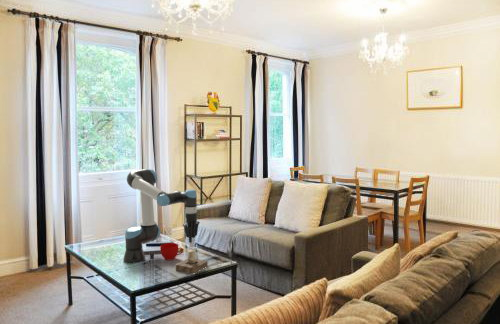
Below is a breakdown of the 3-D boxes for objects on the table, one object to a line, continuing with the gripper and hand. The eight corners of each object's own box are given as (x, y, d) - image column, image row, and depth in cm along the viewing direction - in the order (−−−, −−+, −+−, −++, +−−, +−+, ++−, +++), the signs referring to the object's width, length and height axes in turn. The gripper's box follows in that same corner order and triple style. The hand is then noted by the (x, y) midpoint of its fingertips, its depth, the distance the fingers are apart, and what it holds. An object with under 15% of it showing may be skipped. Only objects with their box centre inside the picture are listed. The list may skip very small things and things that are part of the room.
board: (175, 270, 285) (175, 264, 284) (189, 263, 299) (189, 257, 298) (194, 274, 278) (194, 268, 278) (207, 266, 292) (207, 260, 292)
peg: (186, 269, 287) (186, 251, 286) (191, 266, 292) (190, 249, 291) (193, 270, 285) (192, 252, 284) (197, 267, 290) (197, 250, 288)
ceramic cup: (179, 262, 300) (179, 249, 299) (157, 261, 303) (157, 247, 302) (186, 256, 312) (186, 243, 311) (164, 255, 316) (164, 242, 315)
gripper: (187, 215, 277) (188, 250, 279) (202, 211, 287) (202, 245, 289) (180, 213, 282) (180, 247, 284) (194, 210, 292) (195, 243, 294)
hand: (191, 246), depth 287 cm, fingers closed
